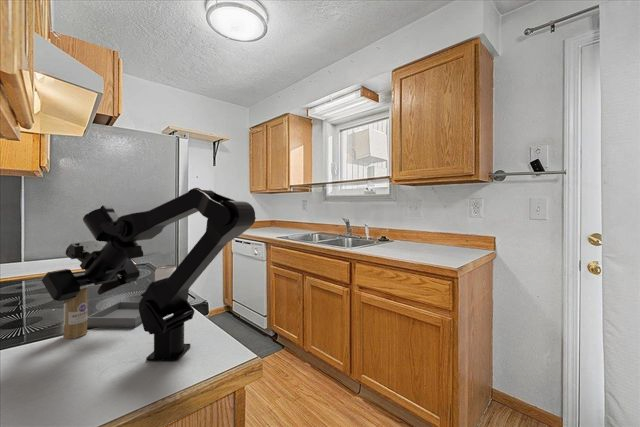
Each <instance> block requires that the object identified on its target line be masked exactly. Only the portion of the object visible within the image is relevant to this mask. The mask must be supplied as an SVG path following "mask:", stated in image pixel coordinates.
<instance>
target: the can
mask: <svg viewBox="0 0 640 427" xmlns="http://www.w3.org/2000/svg"><path fill="white" fill-rule="evenodd" d="M176 266H177V265H175V264H160V265H158V266H156V269H155V271H154V281H157V280H161V279H164V278H168V277H170V276H171V274H172V273H173V272H174V271H175V269H176V268H177V267H176Z"/></svg>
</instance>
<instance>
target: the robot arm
mask: <svg viewBox="0 0 640 427" xmlns="http://www.w3.org/2000/svg"><path fill="white" fill-rule="evenodd" d="M198 212H199V213H200V214H201V215H202V217H204V218H206V228H205V232H204V234H203V235H202V236H201V237H200V238H199V240H198V241H197V242H196V243H195V245H194V246H193V247H192V249H190V251H189V252H188V253H187V254H186V256H185V257H184V258H183V260H182V261H181V262H180V263H179V265H177V267H176V269H175V271H174V272H173V273H172V274H171V276H170V277H168V278H164V279H161V280H157V281H155V280H154V281H152V282H150V284H149V285H148V287H147V288H146V290H145V291H144V292H142V293H141V294H140V298H141V299H140V300H139V301H138V302H139V313H140V317H141V320H142V324H141V325H142V327H143V330H144V331H145V332H148V335H153V351H152V352H151V353H150V354H149V355H148V356H146V357H145V359H146V361H159V362H160V361H162V362H163V361H165V362H167V361H172V362H174V361H175V362H176V361H179V360H180V358H181V357H182V356H183V355H184V354H185V353H186V352H187V351H188V350H189V349H190V348H191V343H185V323H186V322H187V321H189V320H190V321H191V320H192V319H193V317H194V315H195V309H194V308H193V307H192V305H191V303H189V301H188V298H189V292H190V290H189V289H190V288H191V287H192V285H193V284H194V283H195V282H196V281H197V280H198V278H199V277H200V276H201V275H202V274H203V273H204V271H205V270H206V269H207V268H208V267H209V265H210V264H211V263H212V262H213V260H214V259H215V258H216V257H217V256H218V254H220V252H221V251H222V250H223V249H224V248H225V246H226V245H227V244H228V243H230V242H231V241H233V240H235V239H236V238H237V237H240V236H241V235H242V234H243V233H246V231H247V230H248V229H250V228H251V227H252V226H253V225H254V224H255V222H256V212H255V208H254V207H253V206H252V204H251V203H249V202H248V201H241V200H235V199H233V198H230V197H227V196H224V195H222V194H220V193H217V192H216V191H214V190H212V189H211V188H202V187H193V188H190V189H189V190H188V191H187V192H186V193H184V194H181V195H179V196H177V197H175V198H172V199H171V200H169V201H167V202H164V203H162V204H160V205H158V206H156V207H154V208H151V209H150V210H147V211H146V210H145V211H139V212H133V213H129V214H124V215H121V216H118V214H117V213H116V212H115V209H114V207H113V206H112V205H101V207H100V208H97V209H94V210H92V211H90V212H88V213H86V214H84V216H83V218H82V221H83V223H84V225H85V226H86V228H87V229H88V230H89V232H90V233H91V235H92V236H93V237H94V239H95V240H96V241H95V240H90V241H80V242H75V243H70V244H69V245H68V246H67V248H66V250H65V256H67V257H68V258H69V259H70V260H76V259H77V260H78V261H80V265H79V267H80V269H81V270H84V274H81V275H77V276H75V275H74V273H73V272H72V270H71V269H68V268H64V269H60V270H59V269H58V270H53V271H47V272H46V274H45V275H44V277H43V278H42V279H41V283H42V284H43V285H44V287H45V289H46V290H47V292H48V293H49V295H50V297H51V298H52V300H54V304H55V306H56V308H57V307H60V306H64V303H66V302H68V301H70V300H72V299H73V298H75V297H76V296H75V295H77V294H78V293H79V292H80V287H82V286H86V285H88V286H90V285H94V286H99V287H98V290H97V294H98V295H99V296H101V295H103V294H106V293H108V292H110V291H113V290H115V289H118V288H121V287H123V286H125V285H128V284H131V282H135V281H137V280H138V279H139V277H140V276H141V274H140V273H141V272H140V270H139V268H138V267H137V265H136V264H135V263H134V261H133V260H132V259H138V258H143V257H144V251H143V249H142V245H139V243H138V242H137V241H146V240H152V239H154V238H155V237H157V236H158V235H160V233H162V232H163V230H164V228H166V227H167V226H169V225H171V224H174V223H176V222H178V221H180V220H183V219H184V218H187V217H189V216H191V215H194V214H196V213H198ZM99 242H104V243H105V244H104V246H103V245H102V244H101V243H99Z"/></svg>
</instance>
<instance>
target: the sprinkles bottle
mask: <svg viewBox="0 0 640 427" xmlns="http://www.w3.org/2000/svg"><path fill="white" fill-rule="evenodd" d="M88 287H89V285H86V286H82V287H80V292H79V293H78V294H77V295H75V296H76V297H75V298H73V299H72V300H70V301H68V302H66V303H64V304H63V338H64V339H71V340H72V339H76V338H80V337H83V336H85V335H86V334H87V333H88V332H89V330H88V327H87V317H88Z"/></svg>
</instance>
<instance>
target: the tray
mask: <svg viewBox="0 0 640 427" xmlns="http://www.w3.org/2000/svg"><path fill="white" fill-rule="evenodd" d="M139 302H140V301H117V302H116V303H114V304H111V305H109V306H107V307H105V308H102V309H100V310H98V311H96V312H94V313H92V314H90V315H87V328H97V329H98V328H99V329H100V328H108V329H109V328H110V329H111V328H113V329H114V328H115V329H116V328H118V329H120V328H121V329H123V328H126V329H132V328H135V329H136V328H137V327H138V326H140V325H143V324H142V320H141V317H140V313H139Z"/></svg>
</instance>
